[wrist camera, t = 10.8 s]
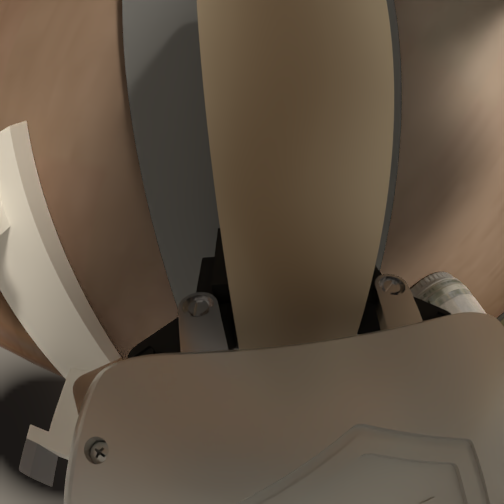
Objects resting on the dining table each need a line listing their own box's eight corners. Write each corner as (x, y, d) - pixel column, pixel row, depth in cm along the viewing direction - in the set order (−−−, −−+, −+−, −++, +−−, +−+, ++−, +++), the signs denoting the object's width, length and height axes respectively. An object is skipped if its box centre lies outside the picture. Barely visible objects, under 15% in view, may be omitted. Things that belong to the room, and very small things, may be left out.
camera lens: (380, 311, 18) (421, 402, 11) (442, 253, 15) (506, 333, 9) (412, 336, 20) (446, 408, 14) (463, 289, 18) (510, 356, 11)
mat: (378, -35, 6) (385, -39, 5) (342, 372, 22) (344, 379, 21) (129, -30, 6) (123, -36, 5) (210, 385, 22) (210, 393, 21)
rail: (324, -25, 5) (368, -71, 2) (307, 391, 18) (316, 437, 15) (209, -25, 5) (193, -82, 2) (254, 397, 18) (257, 444, 15)
